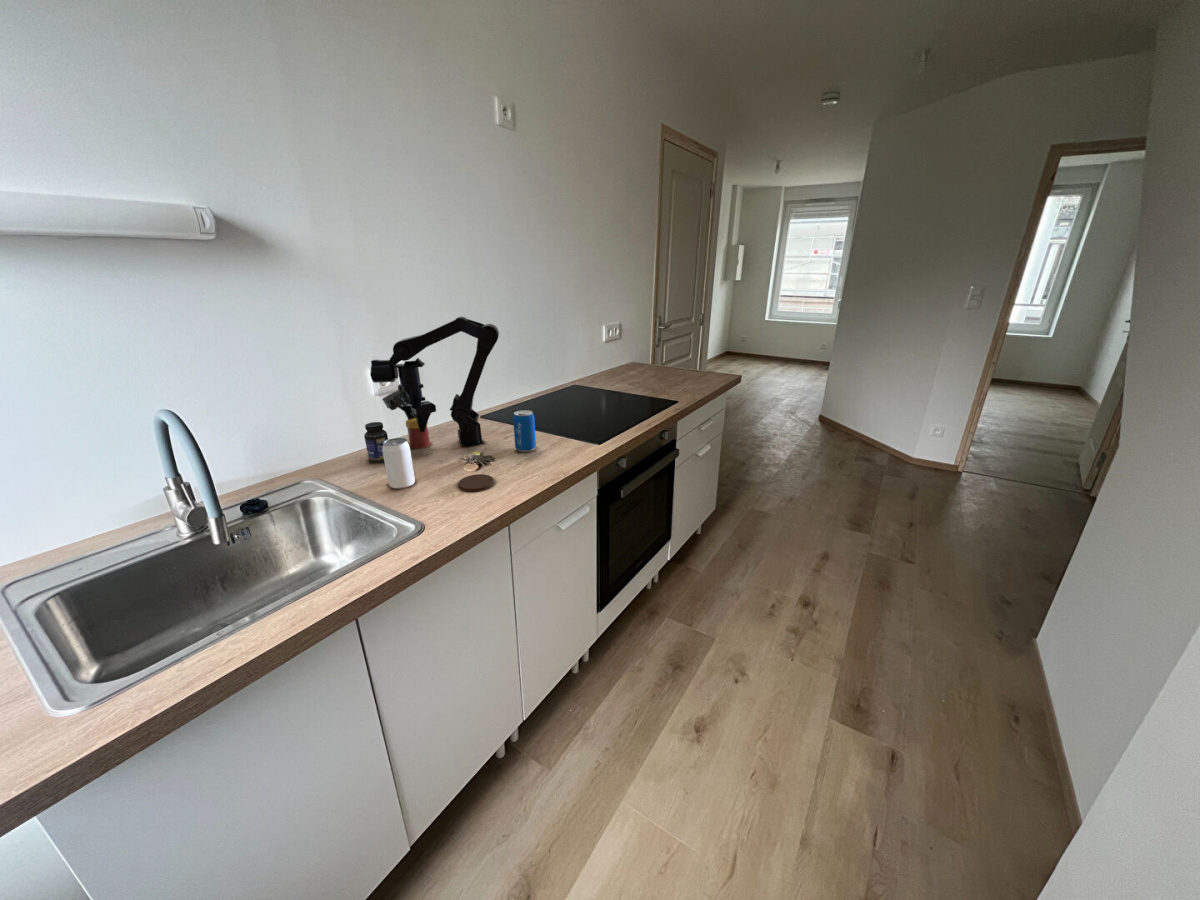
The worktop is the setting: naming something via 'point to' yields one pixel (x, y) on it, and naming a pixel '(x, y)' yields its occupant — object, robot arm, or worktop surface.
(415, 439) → the dark red cylinder
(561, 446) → the worktop surface
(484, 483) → the coaster
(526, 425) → the beverage can
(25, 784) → the worktop surface
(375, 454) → the pill bottle
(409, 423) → the lid
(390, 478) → the can
